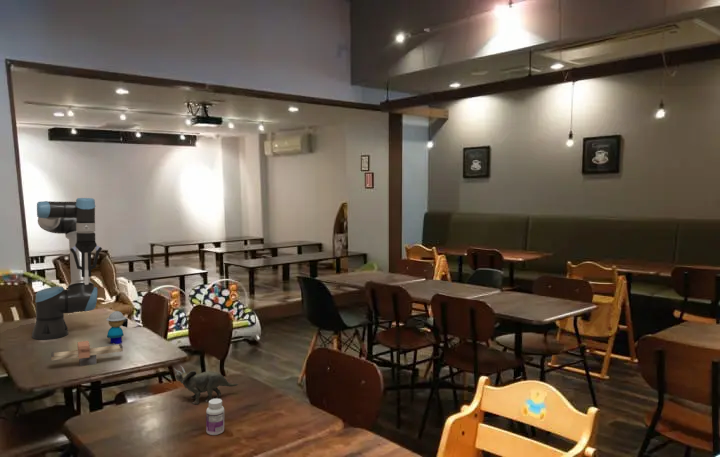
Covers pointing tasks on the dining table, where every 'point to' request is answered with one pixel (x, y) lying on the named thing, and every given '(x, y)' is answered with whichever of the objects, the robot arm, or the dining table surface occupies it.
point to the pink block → (84, 349)
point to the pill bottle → (215, 417)
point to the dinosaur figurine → (202, 383)
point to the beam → (93, 354)
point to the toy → (116, 326)
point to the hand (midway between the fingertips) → (86, 284)
